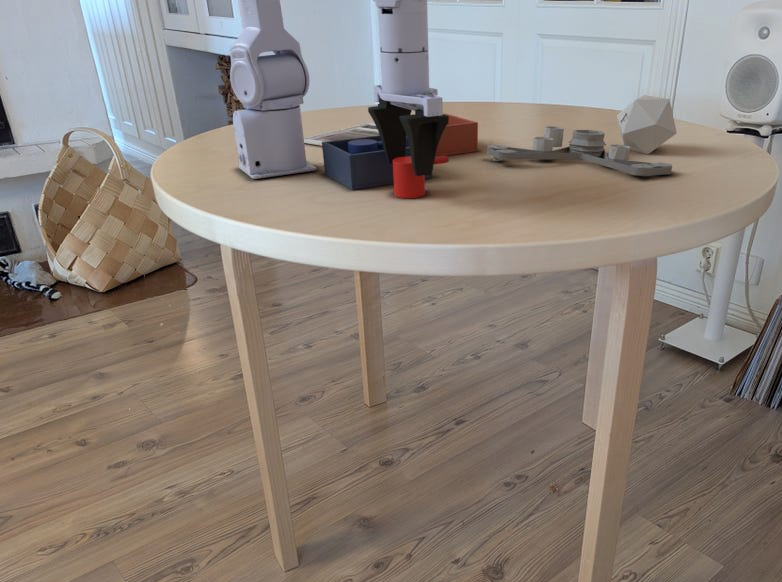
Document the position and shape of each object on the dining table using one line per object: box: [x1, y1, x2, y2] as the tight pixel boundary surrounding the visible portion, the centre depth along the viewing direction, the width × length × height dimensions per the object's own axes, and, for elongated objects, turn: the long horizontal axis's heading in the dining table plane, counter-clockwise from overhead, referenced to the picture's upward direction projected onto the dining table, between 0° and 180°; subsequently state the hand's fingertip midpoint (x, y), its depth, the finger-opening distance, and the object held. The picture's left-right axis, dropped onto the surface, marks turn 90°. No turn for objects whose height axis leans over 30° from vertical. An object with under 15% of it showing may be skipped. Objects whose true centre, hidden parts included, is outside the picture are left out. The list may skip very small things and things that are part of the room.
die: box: [616, 94, 678, 155], centre depth 105 cm, size 8×9×10 cm
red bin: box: [406, 113, 479, 157], centre depth 108 cm, size 12×10×4 cm
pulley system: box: [486, 125, 673, 177], centre depth 99 cm, size 27×5×15 cm
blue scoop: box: [348, 139, 383, 154], centre depth 93 cm, size 8×4×4 cm, turn 120°
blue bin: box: [321, 135, 433, 191], centre depth 93 cm, size 12×10×4 cm
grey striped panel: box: [304, 122, 380, 147], centre depth 118 cm, size 11×1×18 cm
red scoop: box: [393, 155, 450, 199], centre depth 86 cm, size 8×4×4 cm, turn 120°
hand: (409, 168), depth 84 cm, fingers open, 7 cm apart
